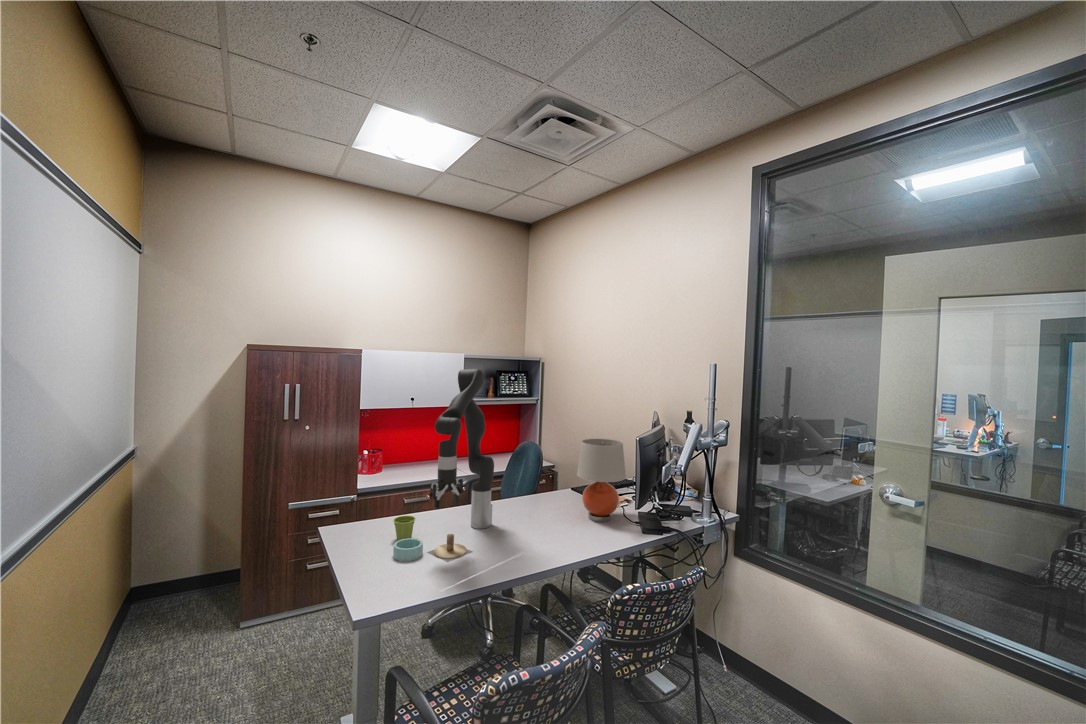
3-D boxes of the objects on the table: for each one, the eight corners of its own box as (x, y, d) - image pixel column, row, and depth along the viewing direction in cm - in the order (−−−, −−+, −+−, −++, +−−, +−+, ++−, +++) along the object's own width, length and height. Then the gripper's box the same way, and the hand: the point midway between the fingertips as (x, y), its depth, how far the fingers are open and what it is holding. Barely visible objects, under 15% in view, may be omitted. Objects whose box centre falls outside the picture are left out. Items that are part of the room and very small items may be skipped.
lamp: (565, 516, 234) (568, 440, 234) (597, 506, 251) (599, 436, 251) (602, 530, 216) (605, 448, 216) (634, 519, 233) (636, 443, 232)
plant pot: (392, 544, 193) (392, 523, 193) (393, 535, 202) (393, 516, 202) (415, 542, 196) (415, 522, 196) (415, 534, 205) (415, 514, 205)
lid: (452, 542, 195) (452, 527, 195) (472, 551, 187) (473, 535, 187) (426, 552, 185) (427, 535, 185) (447, 562, 177) (448, 544, 177)
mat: (452, 544, 195) (452, 542, 195) (472, 553, 187) (472, 551, 187) (426, 553, 185) (426, 552, 185) (447, 563, 177) (447, 561, 177)
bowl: (411, 548, 190) (411, 536, 190) (427, 555, 183) (428, 543, 183) (387, 556, 181) (388, 543, 181) (404, 565, 174) (404, 551, 174)
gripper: (456, 462, 193) (455, 500, 193) (426, 467, 183) (425, 508, 183) (467, 465, 188) (466, 505, 188) (437, 471, 178) (436, 512, 178)
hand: (446, 506), depth 186 cm, fingers open, 8 cm apart
